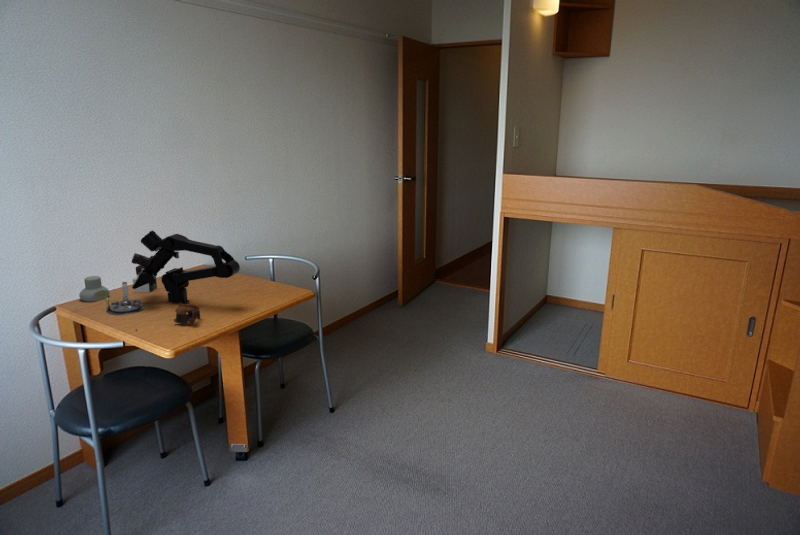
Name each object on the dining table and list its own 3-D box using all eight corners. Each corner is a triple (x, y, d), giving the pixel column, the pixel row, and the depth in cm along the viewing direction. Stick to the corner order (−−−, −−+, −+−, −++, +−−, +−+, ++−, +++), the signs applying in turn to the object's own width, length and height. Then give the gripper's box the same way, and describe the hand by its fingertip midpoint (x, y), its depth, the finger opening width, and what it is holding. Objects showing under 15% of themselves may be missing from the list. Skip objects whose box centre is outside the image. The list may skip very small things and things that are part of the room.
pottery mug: (167, 324, 207) (171, 303, 209) (190, 329, 214) (194, 308, 216) (184, 324, 200) (189, 301, 202) (207, 329, 207) (211, 307, 209)
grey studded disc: (141, 310, 215) (139, 290, 213) (110, 314, 211) (107, 294, 209) (141, 299, 228) (139, 280, 226) (111, 302, 223) (109, 283, 221)
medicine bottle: (150, 294, 239) (147, 268, 236) (133, 294, 239) (130, 267, 236) (157, 289, 246) (155, 263, 242) (141, 289, 246) (138, 263, 243)
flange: (153, 306, 224) (151, 292, 223) (133, 319, 211) (132, 303, 209) (119, 305, 226) (117, 290, 224) (97, 317, 212) (95, 301, 210)
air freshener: (101, 295, 237) (98, 273, 234) (113, 299, 233) (111, 276, 230) (76, 302, 227) (73, 279, 225) (89, 306, 224) (85, 282, 221)
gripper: (143, 241, 228) (117, 270, 227) (142, 252, 212) (113, 282, 211) (166, 258, 233) (140, 286, 232) (166, 270, 217) (138, 299, 216)
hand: (133, 288), depth 223 cm, fingers closed
